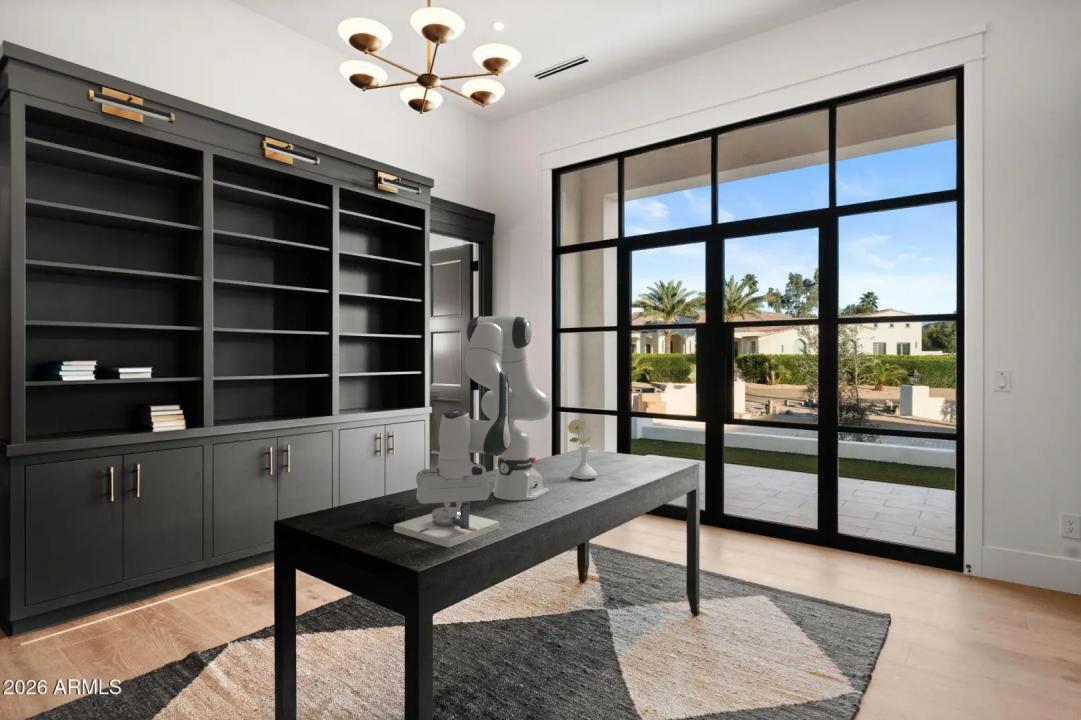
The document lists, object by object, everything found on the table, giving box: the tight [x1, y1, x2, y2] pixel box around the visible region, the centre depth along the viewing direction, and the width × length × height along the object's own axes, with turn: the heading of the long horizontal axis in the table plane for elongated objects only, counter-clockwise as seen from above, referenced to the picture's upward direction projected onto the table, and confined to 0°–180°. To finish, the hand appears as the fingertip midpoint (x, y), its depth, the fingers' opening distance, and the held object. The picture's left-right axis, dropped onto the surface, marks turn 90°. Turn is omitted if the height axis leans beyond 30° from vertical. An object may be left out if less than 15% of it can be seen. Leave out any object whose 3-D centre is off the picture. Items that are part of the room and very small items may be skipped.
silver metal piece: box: [431, 501, 471, 529], centre depth 174 cm, size 16×9×8 cm, turn 37°
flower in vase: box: [567, 418, 598, 480], centre depth 250 cm, size 13×11×25 cm
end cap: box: [366, 499, 406, 529], centre depth 181 cm, size 10×7×7 cm
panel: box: [393, 512, 500, 549], centre depth 177 cm, size 22×22×2 cm
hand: (452, 517), depth 167 cm, fingers closed
